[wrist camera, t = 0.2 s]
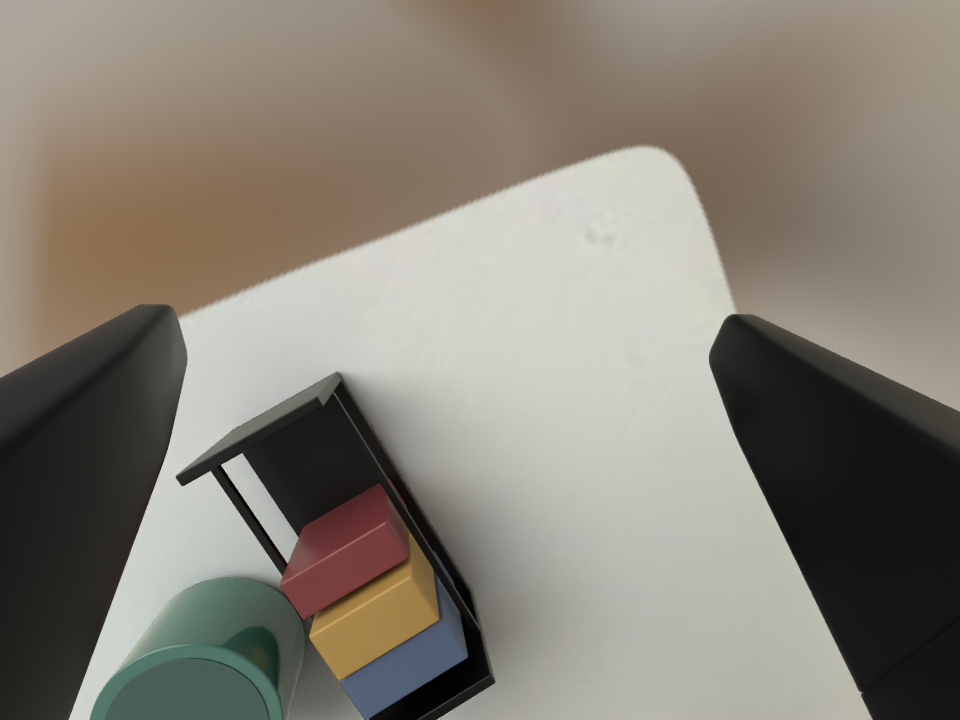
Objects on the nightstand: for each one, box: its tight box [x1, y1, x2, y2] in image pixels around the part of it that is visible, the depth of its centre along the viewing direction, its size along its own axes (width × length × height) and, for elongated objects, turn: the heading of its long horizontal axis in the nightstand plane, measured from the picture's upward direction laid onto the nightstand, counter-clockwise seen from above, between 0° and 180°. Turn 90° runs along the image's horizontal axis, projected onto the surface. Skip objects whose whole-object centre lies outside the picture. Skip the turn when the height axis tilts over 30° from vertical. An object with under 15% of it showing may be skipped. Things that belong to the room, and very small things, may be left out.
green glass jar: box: [90, 577, 305, 720], centre depth 21 cm, size 6×6×5 cm
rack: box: [176, 372, 495, 720], centre depth 21 cm, size 12×5×6 cm, turn 29°
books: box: [280, 478, 468, 720], centre depth 21 cm, size 6×4×5 cm
